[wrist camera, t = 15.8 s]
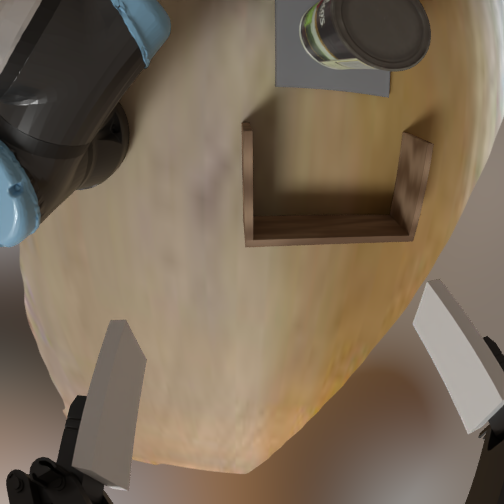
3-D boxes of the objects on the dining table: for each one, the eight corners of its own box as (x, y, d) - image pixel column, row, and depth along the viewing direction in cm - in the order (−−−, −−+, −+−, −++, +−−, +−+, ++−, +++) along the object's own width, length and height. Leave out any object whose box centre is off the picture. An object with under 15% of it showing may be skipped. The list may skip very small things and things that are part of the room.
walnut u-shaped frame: (241, 122, 38) (243, 131, 32) (408, 132, 39) (433, 144, 33) (243, 222, 46) (245, 247, 40) (393, 220, 47) (413, 241, 41)
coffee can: (283, 42, 31) (310, 24, 19) (322, -12, 26) (364, -46, 15) (348, 85, 34) (401, 93, 22) (384, 32, 30) (445, 23, 18)
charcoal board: (274, -20, 26) (275, -22, 26) (386, -2, 27) (389, -3, 26) (275, 86, 35) (276, 86, 34) (385, 96, 36) (388, 97, 35)
